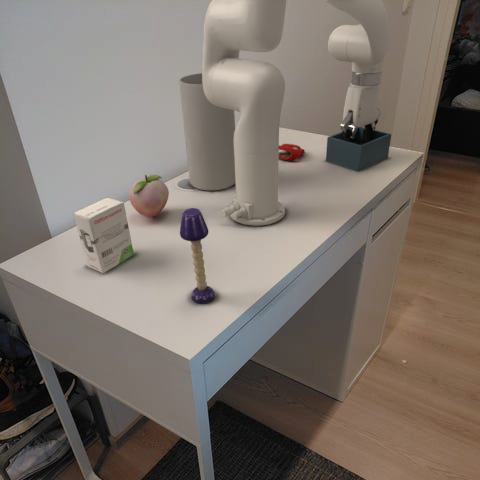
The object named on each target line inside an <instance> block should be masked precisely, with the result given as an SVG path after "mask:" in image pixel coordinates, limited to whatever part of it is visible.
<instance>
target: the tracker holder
mask: <svg viewBox="0 0 480 480" xmlns="http://www.w3.org/2000/svg"><path fill="white" fill-rule="evenodd" d="M279 151H284V152H285V151H286V152H289V153H290V155H289V156H288V157H286V156H283V155H279V159H280V160H284V161H290V162H293V161H294V162H295V161H296V160H297V159H299V157H300V156H301V155H302V154H305V149H304V148H301V146H299V145H298V144H294V143H282V144H281V145H279Z"/></svg>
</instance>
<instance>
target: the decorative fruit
mask: <svg viewBox="0 0 480 480" xmlns="http://www.w3.org/2000/svg"><path fill="white" fill-rule="evenodd" d="M161 179H163V177H162V176H161V175H159V174H151V175H148V176H147V174H145V175H144V178H139V179H138V180H136V181H135V182H134V183H133V184H132V185H131V187H130V188H129V191H128V199H129V202H130V204H131V207H133V209H134V210H135V211H136V212H137V213H139V214H140V215H142V216H144V217H150V218H153V217H156V216H157V215H158V214H159V213H161V212H162V211H163V210H164V209H165V207H166V205H167V203H168V200H169V195H170V192H169V188H168V185H166V183H165V182H164V181H162V180H161Z"/></svg>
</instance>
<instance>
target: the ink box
mask: <svg viewBox="0 0 480 480" xmlns="http://www.w3.org/2000/svg"><path fill="white" fill-rule="evenodd" d="M72 215H73V218H74V221H75V225H76V228H77V232H78V235H79V240H80V243H81V246H82V250H83V254H84V258H85V261H86V265H87V267H88V268H90V269H93V270H95V271H97V272H99V273H101V274H105V273H107V272H108V271H110V270H112V269H113V268H115V267H116V266H118V265H119V264H121V263H123V262H125V261H126V260H128V259H130V258H131V257H133V256H134V255H135V252H134V248H133V247H134V246H133V243H132V238H131V232H130V228H129V222H128V217H127V213H126V206H125V203H124V202H123V201H121V200H117V199H114V198H111V197H105V198H103V199H100V200H99V201H96V202H94V203H91V204H90V205H89V206H86V207H84V208H81V209H79V210H76V211H75V212H73V213H72Z"/></svg>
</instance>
